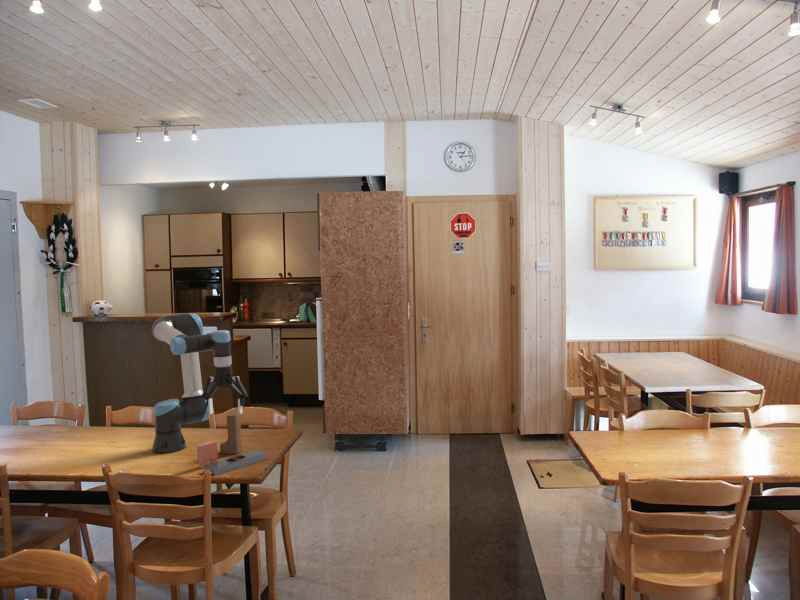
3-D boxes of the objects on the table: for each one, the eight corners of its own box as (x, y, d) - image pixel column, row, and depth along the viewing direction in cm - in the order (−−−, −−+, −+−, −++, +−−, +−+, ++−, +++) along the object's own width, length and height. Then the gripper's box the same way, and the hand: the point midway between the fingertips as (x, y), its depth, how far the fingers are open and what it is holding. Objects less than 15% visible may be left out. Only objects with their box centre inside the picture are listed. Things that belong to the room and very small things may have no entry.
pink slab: (197, 467, 269) (196, 445, 268) (214, 462, 275) (213, 440, 274) (201, 469, 267) (199, 446, 266) (218, 464, 272) (216, 441, 272)
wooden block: (220, 453, 288) (217, 415, 287) (225, 450, 292) (223, 413, 291) (237, 454, 286) (234, 416, 285) (242, 451, 290) (240, 413, 289)
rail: (204, 471, 263) (204, 464, 263) (256, 456, 282) (256, 449, 282) (214, 475, 257) (213, 468, 257) (266, 459, 276) (266, 452, 276)
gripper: (192, 367, 268) (195, 415, 270) (247, 366, 265) (250, 415, 267) (199, 364, 276) (202, 411, 277) (253, 363, 273) (256, 410, 274)
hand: (225, 413), depth 272 cm, fingers open, 13 cm apart
